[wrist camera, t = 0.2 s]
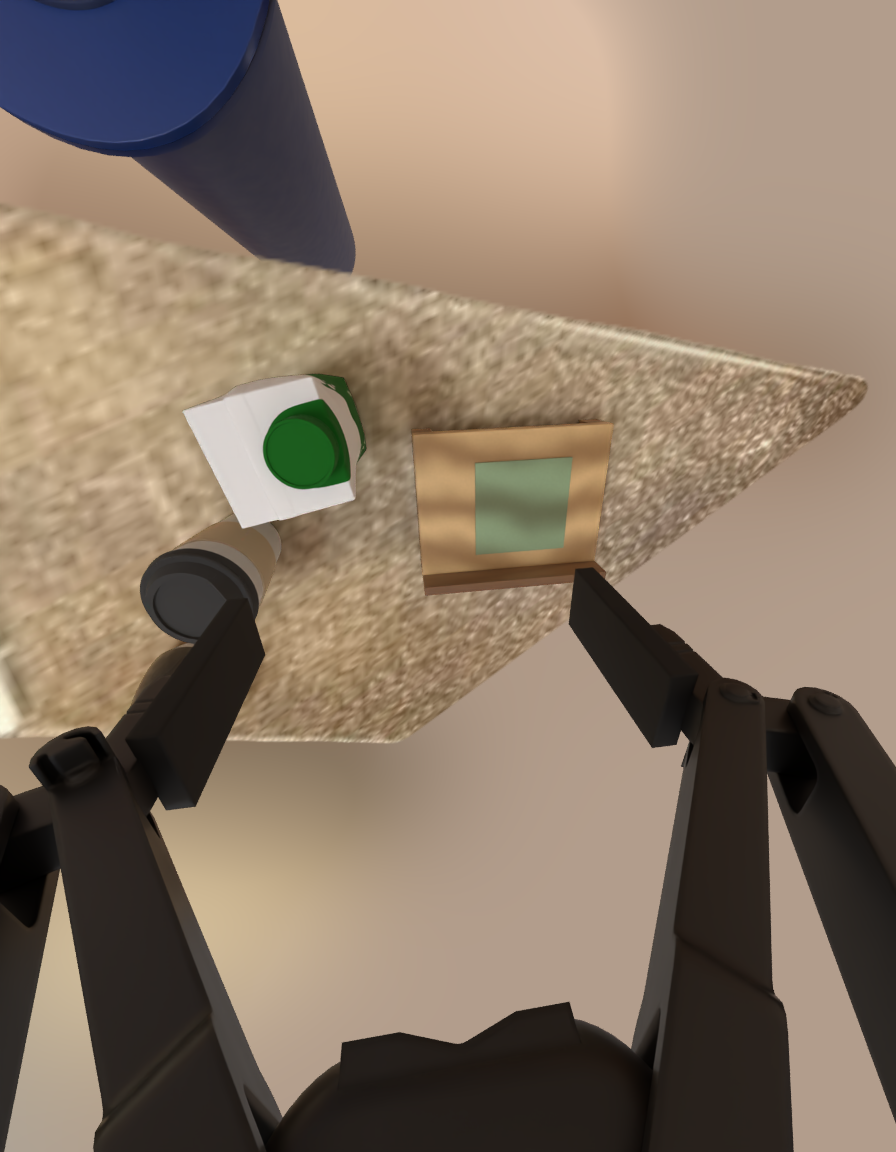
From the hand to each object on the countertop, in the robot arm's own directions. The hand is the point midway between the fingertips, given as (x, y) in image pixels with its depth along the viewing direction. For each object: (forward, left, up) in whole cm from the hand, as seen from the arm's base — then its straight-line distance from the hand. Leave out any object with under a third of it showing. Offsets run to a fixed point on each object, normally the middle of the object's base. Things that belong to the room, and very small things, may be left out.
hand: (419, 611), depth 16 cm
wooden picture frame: (+5, +11, -30) cm, 33 cm away
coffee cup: (+8, -18, -30) cm, 36 cm away
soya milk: (-4, -8, -30) cm, 32 cm away
